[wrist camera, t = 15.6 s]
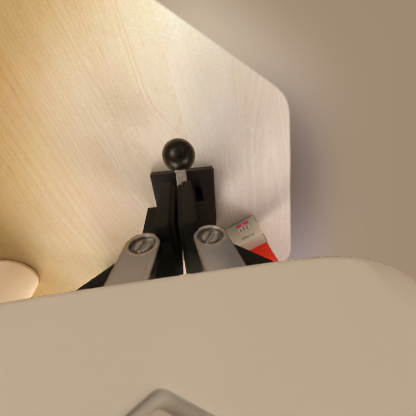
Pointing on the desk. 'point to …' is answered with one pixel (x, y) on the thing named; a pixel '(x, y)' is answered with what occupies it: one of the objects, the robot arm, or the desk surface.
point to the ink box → (250, 238)
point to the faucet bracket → (199, 181)
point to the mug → (16, 281)
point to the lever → (178, 158)
